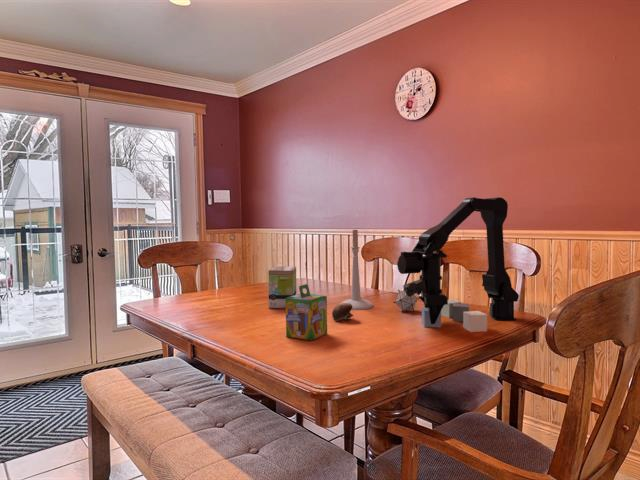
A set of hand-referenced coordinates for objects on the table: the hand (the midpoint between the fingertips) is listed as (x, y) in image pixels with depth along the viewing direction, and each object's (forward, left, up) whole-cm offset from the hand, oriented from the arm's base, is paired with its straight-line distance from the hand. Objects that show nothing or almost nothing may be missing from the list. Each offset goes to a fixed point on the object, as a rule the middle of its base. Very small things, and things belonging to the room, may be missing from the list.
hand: (431, 321), depth 133 cm
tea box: (+52, -33, -1) cm, 62 cm away
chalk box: (+38, +12, -1) cm, 40 cm away
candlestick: (+23, -29, -1) cm, 37 cm away
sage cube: (-9, -13, -1) cm, 16 cm away
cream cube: (-12, +5, -1) cm, 13 cm away
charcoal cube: (-11, -7, -1) cm, 13 cm away
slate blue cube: (0, 0, -1) cm, 1 cm away
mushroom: (+28, -7, -1) cm, 29 cm away
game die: (+5, -20, -1) cm, 21 cm away
